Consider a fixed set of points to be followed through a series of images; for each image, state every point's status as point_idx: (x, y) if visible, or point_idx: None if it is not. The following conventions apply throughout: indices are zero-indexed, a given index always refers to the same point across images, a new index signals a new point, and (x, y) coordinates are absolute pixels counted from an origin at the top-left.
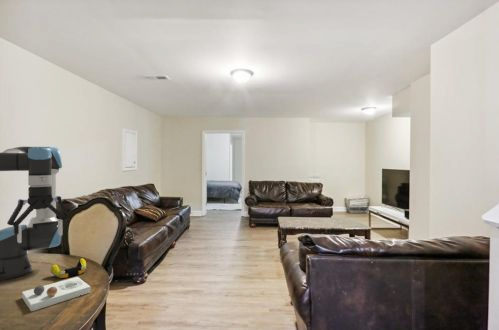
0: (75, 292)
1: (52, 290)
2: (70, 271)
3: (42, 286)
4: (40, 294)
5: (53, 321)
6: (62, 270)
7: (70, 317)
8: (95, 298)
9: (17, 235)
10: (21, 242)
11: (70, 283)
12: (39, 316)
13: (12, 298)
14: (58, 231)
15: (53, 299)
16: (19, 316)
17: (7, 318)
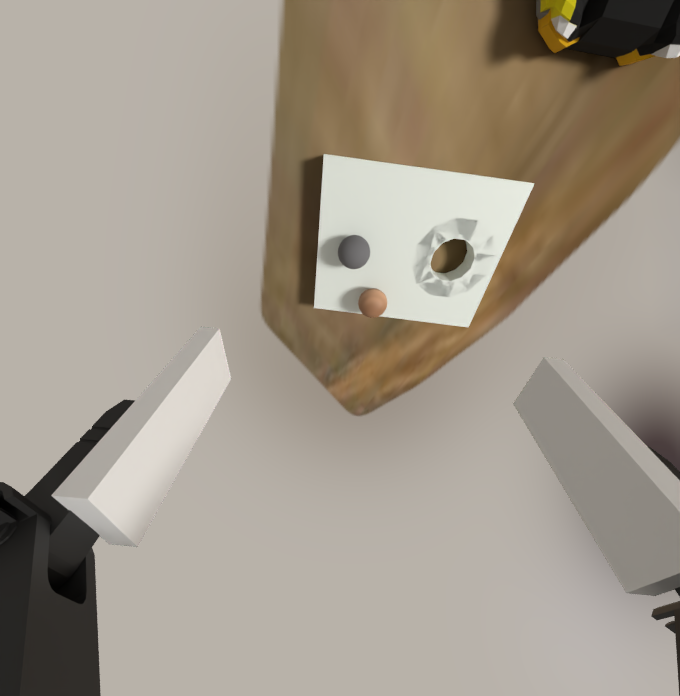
0: (424, 320)
1: (369, 316)
2: (600, 35)
3: (362, 262)
4: None
5: (332, 378)
6: (570, 16)
7: (359, 388)
8: (440, 358)
9: (167, 378)
10: (229, 378)
11: (464, 239)
12: (321, 338)
13: (300, 115)
14: (560, 386)
15: None
16: (290, 301)
17: (267, 287)
